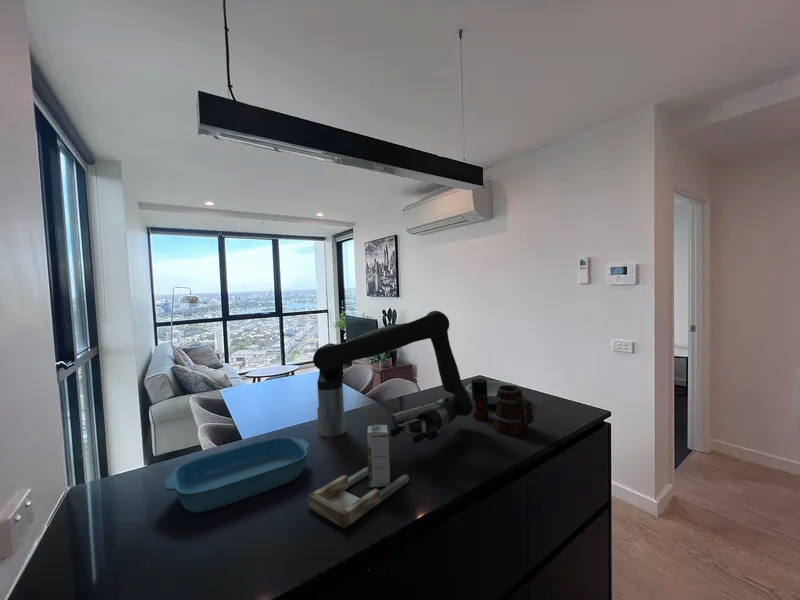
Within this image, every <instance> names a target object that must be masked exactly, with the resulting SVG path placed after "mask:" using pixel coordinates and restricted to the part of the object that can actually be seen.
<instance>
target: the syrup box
mask: <svg viewBox="0 0 800 600" xmlns="http://www.w3.org/2000/svg"><path fill="white" fill-rule="evenodd" d="M388 427H389V426H388V425H387V424H374V425H368V426H367V435H366V436H367V466H368V471H369V475H368V487H369V488H370V489H371V488H379V487H380V488H381V487H387V486H388V485H389V484H391V472H390V470H391V469H390V466H391V465H390V464H391V463H390V446H389V445H390V442H389V441H390V440H389V439H390V437H389V428H388Z"/></svg>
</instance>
